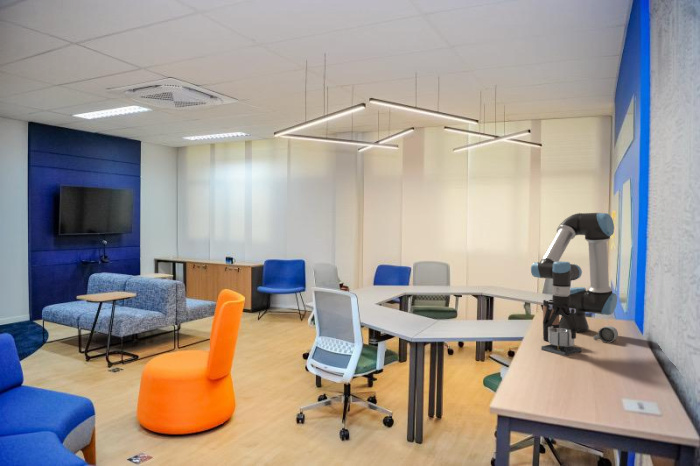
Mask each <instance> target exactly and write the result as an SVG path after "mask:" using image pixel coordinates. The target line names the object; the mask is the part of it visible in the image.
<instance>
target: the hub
mask: <svg viewBox="0 0 700 466" xmlns="http://www.w3.org/2000/svg"><path fill="white" fill-rule="evenodd" d="M557 330H565V332H558V331H557ZM569 331H571V330H569V329H563V328H552V329H549V342H548V343H549V345H550V344H552V345H556V346H569Z"/></svg>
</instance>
